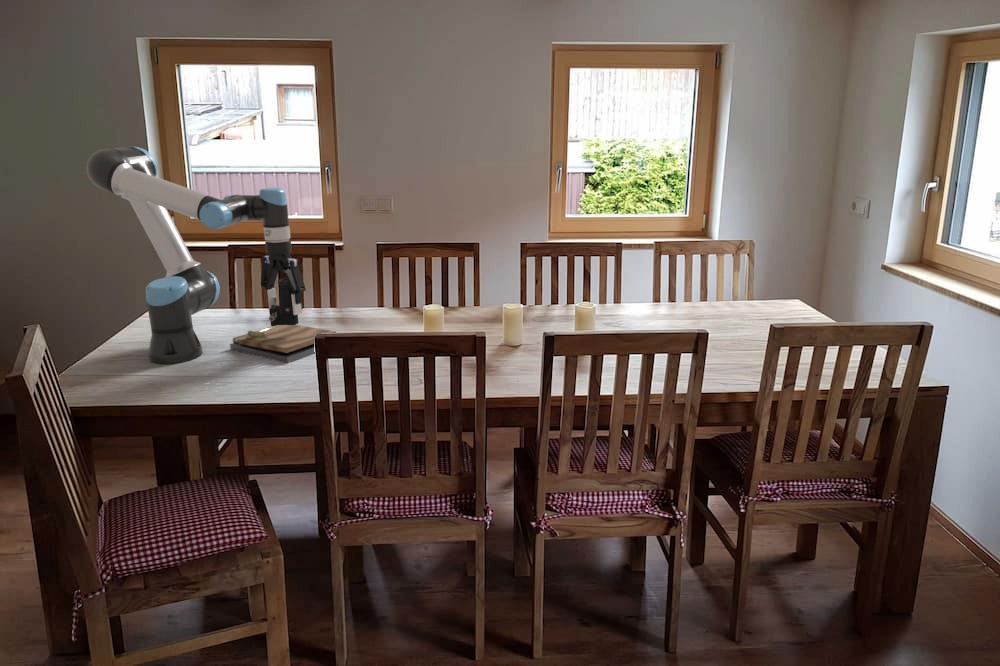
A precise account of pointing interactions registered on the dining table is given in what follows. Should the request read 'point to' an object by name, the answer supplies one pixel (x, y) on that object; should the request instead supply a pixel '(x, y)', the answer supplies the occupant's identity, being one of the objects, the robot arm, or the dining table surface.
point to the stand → (271, 353)
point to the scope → (283, 306)
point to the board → (283, 338)
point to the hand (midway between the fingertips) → (285, 311)
